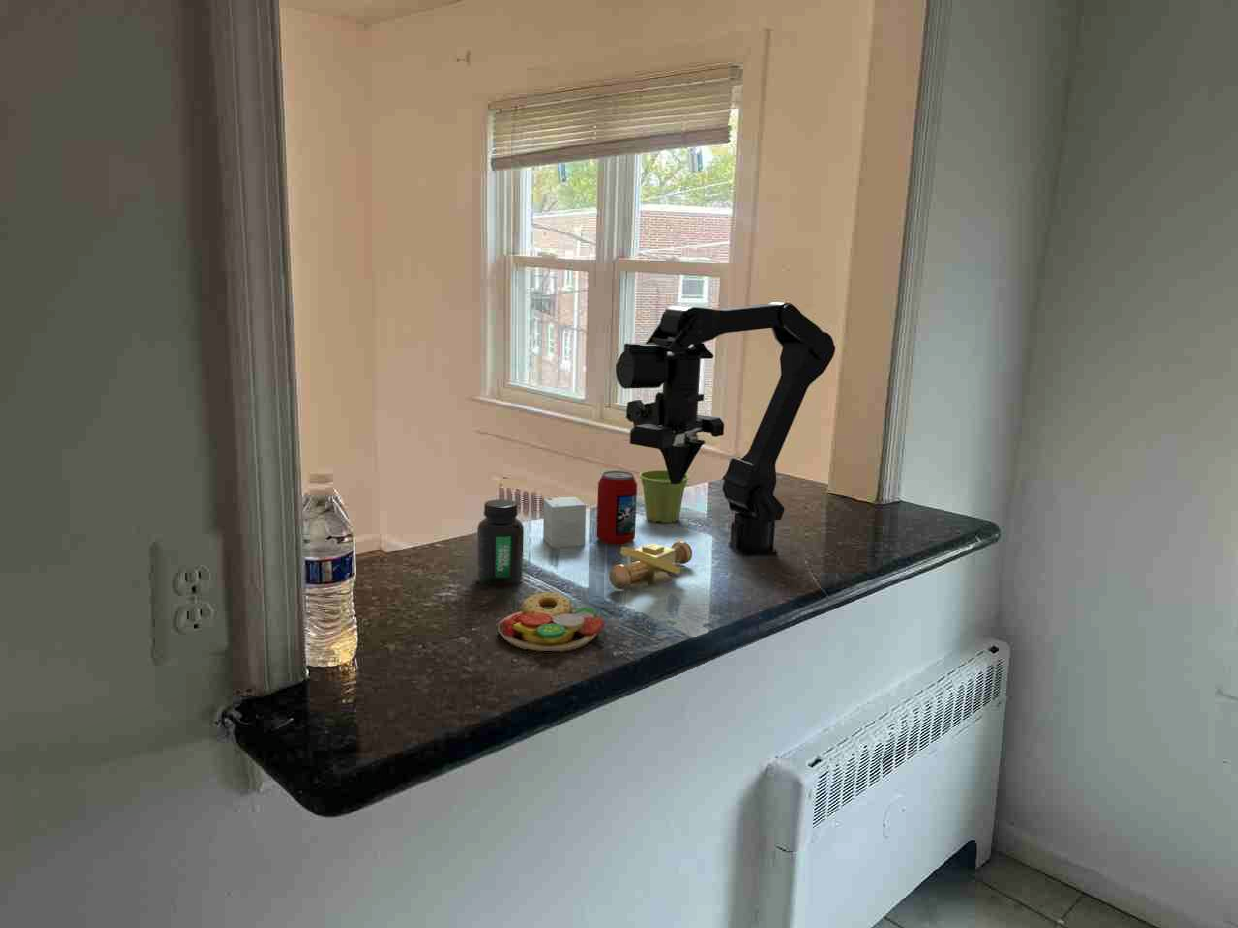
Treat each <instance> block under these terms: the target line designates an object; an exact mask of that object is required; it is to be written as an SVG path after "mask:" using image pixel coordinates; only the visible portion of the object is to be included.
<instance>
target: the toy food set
mask: <svg viewBox="0 0 1238 928" xmlns="http://www.w3.org/2000/svg"><path fill="white" fill-rule="evenodd" d="M596 611H597V610H595V609H594V608H591V607H582V608H578V609H576V610H574V609H573V607H572V604H571V602H570V600H569V599H568V598H567V597H566V596H564V595H562V594H559V593H556V592H544V591H543V592H539V593H534V594H532V595H530V596H529V597H528V598H526V599H525V600H524V602H523V604H522V610H520V611H517V612H513V613H512V614H509V615H508V616H506V617H504V618H503V619H502V620H501V621H500V622H499V625H498V632H499V634H500V636H501V637H502V638H503V639H504V640H506V642H508V643H509V642H510V643H509V644H511V645H512V644H513V645H512V646H514V645H515V647H516V646H517V647H516V648H519V647H520V648H519V649H522V648H523V649H522V650H526V649H531V650H538V651H560V652H565V650H567V651H572V650H575V649H578V648H581V647H583V646H585V645H586V644H588V643H589V642H590V641H592V640H593V639H594V638H595V637H596V636H597V634H598V633H599V632H601V630H603V628H604V626H605V622H604V620H603V619H602V618H601V617H598V616H597V612H596ZM571 649H572V650H571ZM531 650H530V651H531ZM538 651H537V652H538Z"/></svg>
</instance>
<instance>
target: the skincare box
mask: <svg viewBox="0 0 1238 928" xmlns="http://www.w3.org/2000/svg"><path fill="white" fill-rule="evenodd" d="M586 521H587V505H586V504H585V503H584V502H583V501H582V500H581V499H579V498H578V497H577V496H563V497H549V498H547V497H546V498H543V525H542V526H543V527H542V528H543V530H542V531H543V534H542V539H543V540H544V542H546V543H547V544H548V545H549V546H550V547H551V548H552V549H560V548H574V547H585V546H586V538H587V537H586V531H587V530H586V529H587V527H586V525H587V522H586Z"/></svg>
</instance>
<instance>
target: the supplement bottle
mask: <svg viewBox="0 0 1238 928" xmlns="http://www.w3.org/2000/svg"><path fill="white" fill-rule="evenodd" d="M483 506H484V508H483V509H484V511H483V516H484V517H485V518H483V519H481V520H480V521H479V522H478V525H477V526H476V527H477V528H476V529H477V531H476V532H477V533H476V535H477V536H476V541H477V542H476V578H477V579H476V580H477V581H478V582H479V584H481V585H483V586H486V587H489V588H510V587H513V586H516V585H518V584H520V583H521V582H522V581H523V578H524V535H525V533H524V530H525V529H524V524H523V522H522V521H520V520H519V519H518V518H517V517H518V502H516V501H515V500H511V499H503V498H502V499H490V500H487V501H485V502H484V504H483Z"/></svg>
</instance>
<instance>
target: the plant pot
mask: <svg viewBox="0 0 1238 928" xmlns="http://www.w3.org/2000/svg"><path fill="white" fill-rule="evenodd" d="M639 479H641V484H642V486H643V494H644V495H643V496H644V503H645V504H644V505H645V516H646V520H648V521H649V522H652V523H656V522H661V523H663V524H670V523H671V524H672V523H675V522H677V521H678V520H679V518H680V513H681V507H682V502H683V496H684V491H685V488H686V487H687V486H686V485H687V481H689V480H690V476H689V474H687V473H686V474H685V476H684V478H683V479H682V481H681V483H680V484H676V485H675V484H672V483H671V481H670V478H669V474H668V471H667V469H665V470H664V469H655V470H654V469H653V470H646V471H643V472H640V473H639Z"/></svg>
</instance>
